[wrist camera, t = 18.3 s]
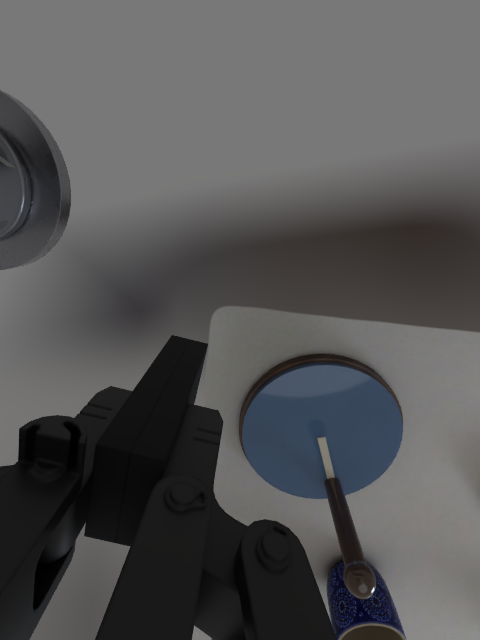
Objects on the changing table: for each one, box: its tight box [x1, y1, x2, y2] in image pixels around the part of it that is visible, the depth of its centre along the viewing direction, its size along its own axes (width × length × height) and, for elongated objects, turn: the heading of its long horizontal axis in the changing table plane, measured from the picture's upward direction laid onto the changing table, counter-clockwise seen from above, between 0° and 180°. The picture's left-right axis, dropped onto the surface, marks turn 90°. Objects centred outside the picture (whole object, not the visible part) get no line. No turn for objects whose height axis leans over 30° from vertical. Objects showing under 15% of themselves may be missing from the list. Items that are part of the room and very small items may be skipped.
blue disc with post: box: [242, 362, 403, 599], centre depth 42 cm, size 24×24×17 cm
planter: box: [327, 561, 406, 640], centre depth 56 cm, size 11×11×11 cm
